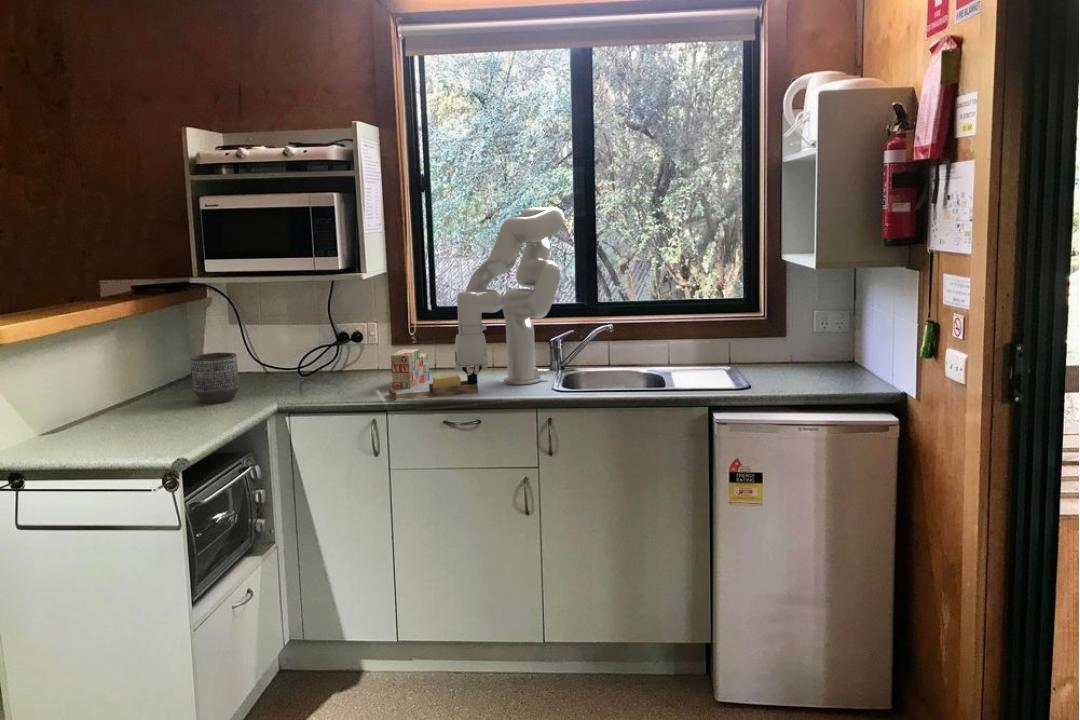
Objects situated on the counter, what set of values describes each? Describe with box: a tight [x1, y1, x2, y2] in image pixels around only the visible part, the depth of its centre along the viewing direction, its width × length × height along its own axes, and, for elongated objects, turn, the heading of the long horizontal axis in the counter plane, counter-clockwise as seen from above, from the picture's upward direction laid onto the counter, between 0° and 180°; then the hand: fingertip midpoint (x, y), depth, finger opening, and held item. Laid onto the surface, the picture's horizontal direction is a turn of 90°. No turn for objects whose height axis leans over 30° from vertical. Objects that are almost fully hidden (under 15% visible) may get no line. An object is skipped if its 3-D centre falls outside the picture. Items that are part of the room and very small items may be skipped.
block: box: [432, 374, 462, 390], centre depth 303 cm, size 8×5×5 cm, turn 107°
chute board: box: [388, 379, 479, 401], centre depth 302 cm, size 27×10×3 cm, turn 107°
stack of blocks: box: [390, 348, 430, 389], centre depth 323 cm, size 21×6×12 cm, turn 169°
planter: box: [190, 351, 240, 405], centre depth 306 cm, size 14×14×15 cm
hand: (472, 386), depth 305 cm, fingers closed
